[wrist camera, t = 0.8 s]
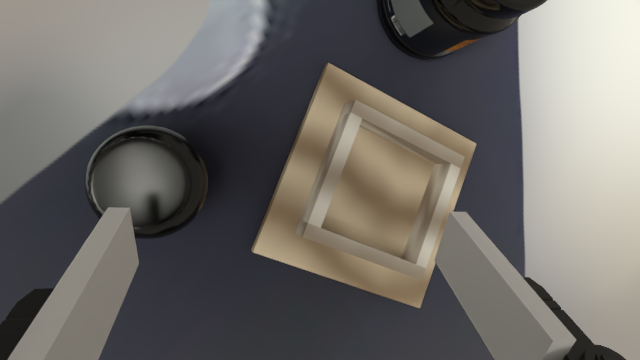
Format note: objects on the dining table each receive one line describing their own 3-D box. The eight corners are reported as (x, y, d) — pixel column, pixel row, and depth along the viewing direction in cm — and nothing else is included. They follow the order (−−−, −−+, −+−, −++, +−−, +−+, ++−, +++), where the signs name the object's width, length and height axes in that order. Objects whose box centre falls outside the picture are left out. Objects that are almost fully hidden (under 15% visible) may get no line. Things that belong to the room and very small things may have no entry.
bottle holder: (324, 65, 34) (339, 54, 31) (469, 144, 40) (494, 141, 37) (250, 249, 32) (257, 258, 29) (414, 305, 38) (435, 317, 35)
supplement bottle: (190, 127, 30) (189, 101, 19) (216, 205, 31) (231, 224, 20) (99, 151, 28) (39, 137, 17) (131, 234, 29) (93, 274, 18)
